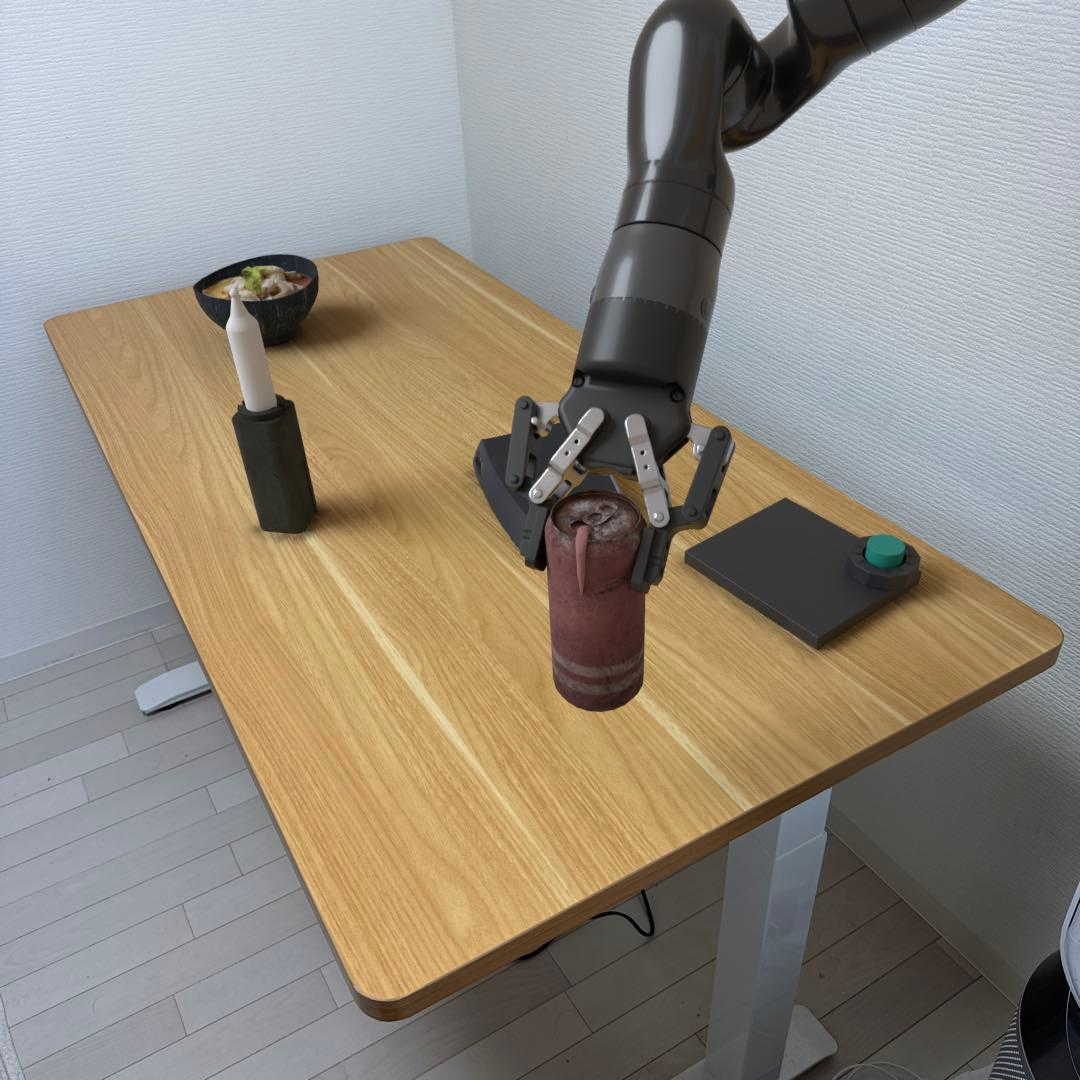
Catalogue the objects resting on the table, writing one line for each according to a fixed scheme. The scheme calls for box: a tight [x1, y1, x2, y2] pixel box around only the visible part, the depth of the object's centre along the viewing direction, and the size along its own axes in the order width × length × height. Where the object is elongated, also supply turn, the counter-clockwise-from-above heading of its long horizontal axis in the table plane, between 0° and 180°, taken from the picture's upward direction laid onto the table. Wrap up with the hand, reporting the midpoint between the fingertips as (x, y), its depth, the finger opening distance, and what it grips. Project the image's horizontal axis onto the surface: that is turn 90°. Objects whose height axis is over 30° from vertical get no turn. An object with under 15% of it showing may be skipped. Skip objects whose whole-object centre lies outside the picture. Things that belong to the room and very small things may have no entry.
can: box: [545, 490, 648, 713], centre depth 61 cm, size 6×6×14 cm
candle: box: [225, 289, 319, 534], centre depth 93 cm, size 5×5×25 cm
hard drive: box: [472, 422, 624, 551], centre depth 100 cm, size 13×19×4 cm
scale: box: [683, 497, 923, 651], centre depth 88 cm, size 16×14×3 cm
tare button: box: [865, 533, 905, 569], centre depth 86 cm, size 3×3×2 cm
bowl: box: [192, 253, 320, 348], centre depth 137 cm, size 17×17×10 cm
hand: (585, 578), depth 58 cm, fingers closed on can, 6 cm apart
